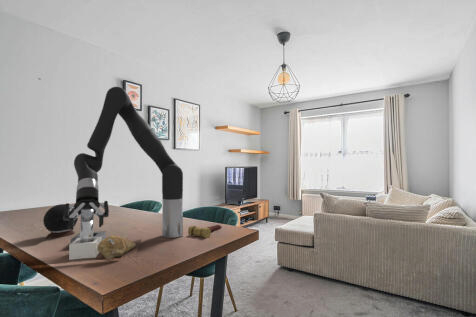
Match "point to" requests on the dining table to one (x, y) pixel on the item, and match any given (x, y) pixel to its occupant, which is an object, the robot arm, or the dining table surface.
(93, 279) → the dining table surface
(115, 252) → the seashell
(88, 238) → the grey tall cylinder
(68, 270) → the dining table surface
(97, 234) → the socket block
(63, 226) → the black rounded disc
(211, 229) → the gavel
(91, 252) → the block
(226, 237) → the dining table surface
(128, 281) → the dining table surface
